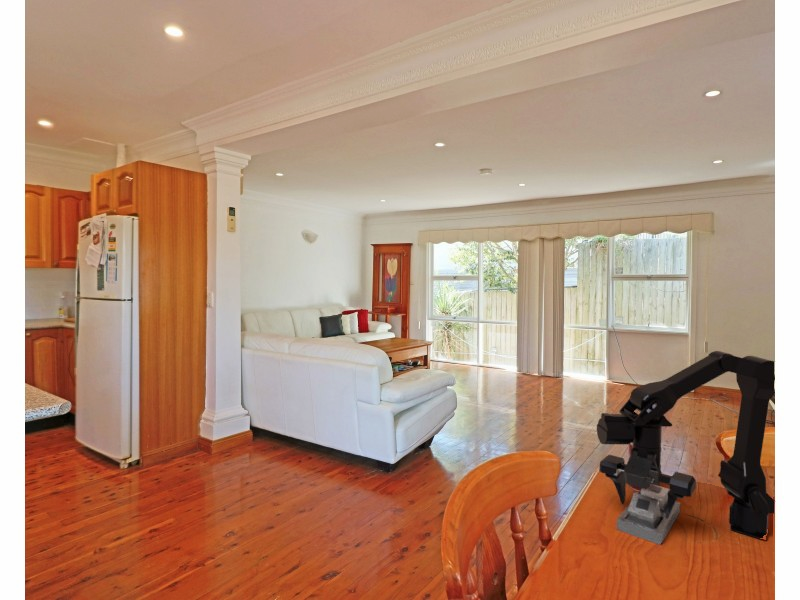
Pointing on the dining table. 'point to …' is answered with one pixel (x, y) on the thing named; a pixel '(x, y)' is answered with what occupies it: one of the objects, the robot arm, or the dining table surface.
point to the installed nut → (657, 495)
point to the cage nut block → (644, 510)
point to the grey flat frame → (645, 531)
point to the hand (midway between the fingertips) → (644, 510)
